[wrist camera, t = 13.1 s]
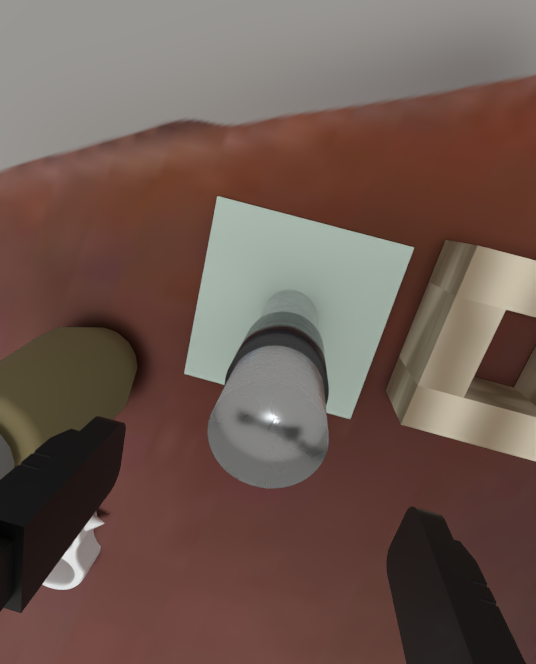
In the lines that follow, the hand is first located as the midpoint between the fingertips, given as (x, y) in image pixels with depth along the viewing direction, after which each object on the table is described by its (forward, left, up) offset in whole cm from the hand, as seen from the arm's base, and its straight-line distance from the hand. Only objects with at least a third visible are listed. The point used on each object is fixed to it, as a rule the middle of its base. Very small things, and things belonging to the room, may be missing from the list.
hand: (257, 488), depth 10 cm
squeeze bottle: (+14, +8, -19) cm, 25 cm away
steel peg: (0, 0, -18) cm, 18 cm away
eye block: (-15, -2, -19) cm, 24 cm away
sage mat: (0, 0, -19) cm, 19 cm away
